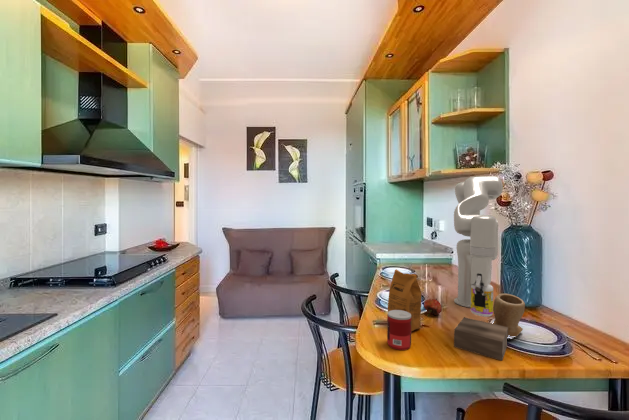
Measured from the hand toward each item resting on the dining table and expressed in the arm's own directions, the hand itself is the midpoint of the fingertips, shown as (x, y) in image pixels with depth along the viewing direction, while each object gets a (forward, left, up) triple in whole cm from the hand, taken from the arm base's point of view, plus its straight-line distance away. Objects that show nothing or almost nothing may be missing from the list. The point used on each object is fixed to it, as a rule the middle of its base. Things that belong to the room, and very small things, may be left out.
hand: (481, 303), depth 101 cm
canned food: (+18, -22, -15) cm, 32 cm away
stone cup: (-16, +6, -15) cm, 23 cm away
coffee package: (+2, -27, -15) cm, 31 cm away
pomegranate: (-18, -22, -15) cm, 32 cm away
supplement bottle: (0, 0, -4) cm, 4 cm away
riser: (0, 0, -15) cm, 15 cm away
